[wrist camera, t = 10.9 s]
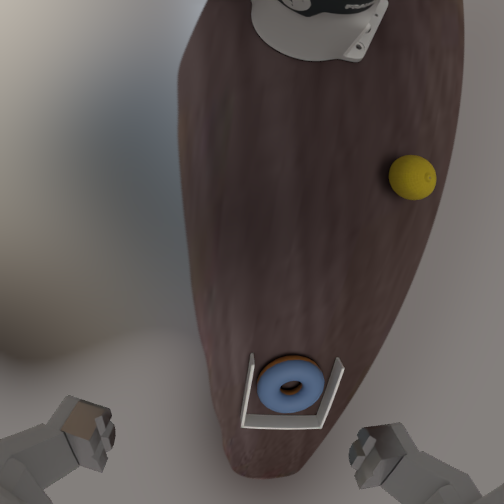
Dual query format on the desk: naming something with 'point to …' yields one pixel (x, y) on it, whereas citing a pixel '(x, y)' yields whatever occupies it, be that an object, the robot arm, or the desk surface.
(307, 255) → the desk surface
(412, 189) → the lemon
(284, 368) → the doughnut
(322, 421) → the box
